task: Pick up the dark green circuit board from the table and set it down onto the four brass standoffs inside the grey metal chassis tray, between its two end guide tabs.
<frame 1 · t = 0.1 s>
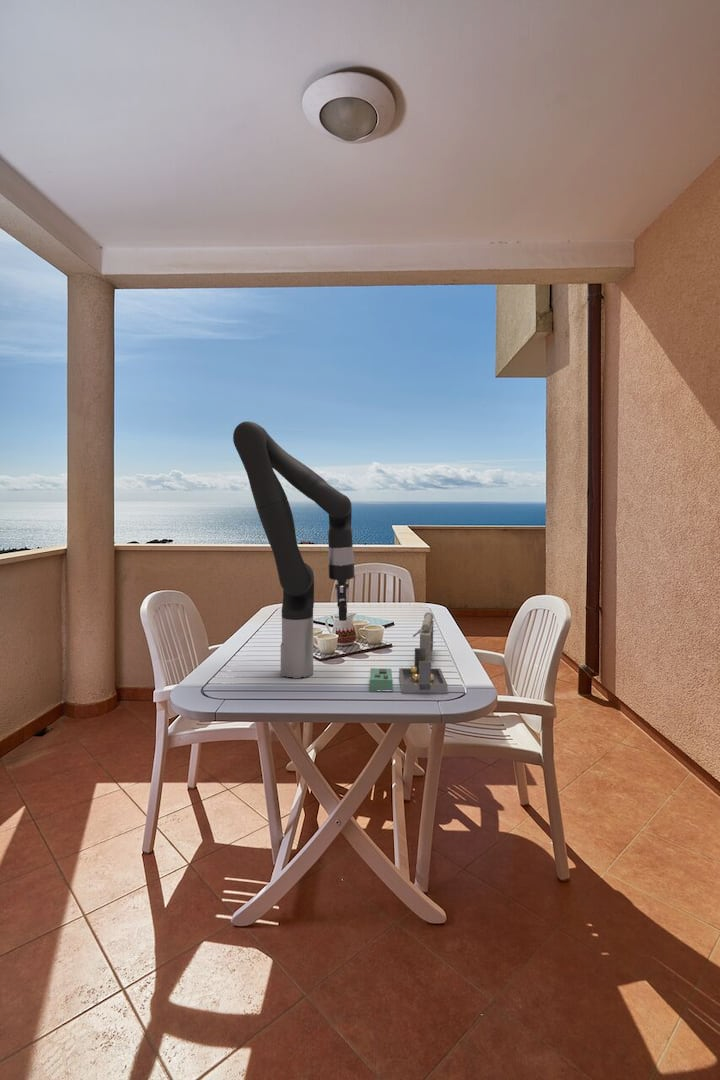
hand: (343, 616, 148), 17 cm above the table, tool pointing down, fingers open, 8 cm apart
grey upright lever device: (425, 657, 166), on the table
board: (381, 686, 140), on the table
chassis: (422, 684, 141), on the table
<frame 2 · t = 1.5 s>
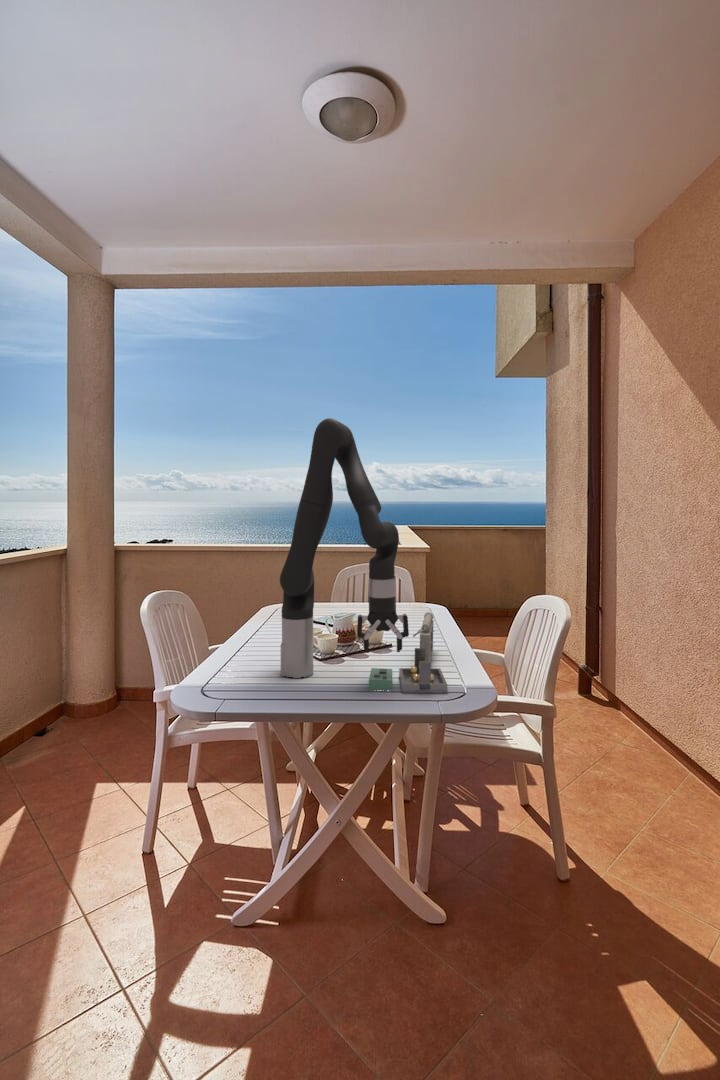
hand: (383, 651, 140), 9 cm above the table, tool pointing down, fingers open, 8 cm apart
nothing on the table moved.
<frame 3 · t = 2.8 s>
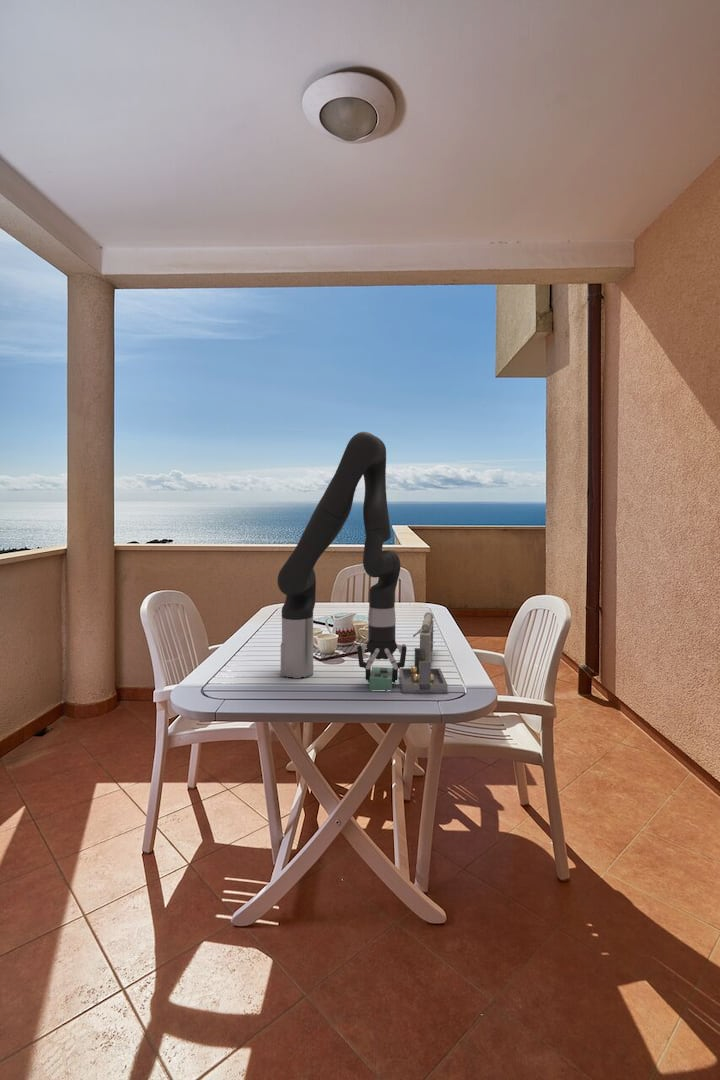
hand: (381, 681, 140), 1 cm above the table, tool pointing down, fingers closed on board, 6 cm apart
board: (381, 685, 140), on the table, touching gripper
everything else where it was.
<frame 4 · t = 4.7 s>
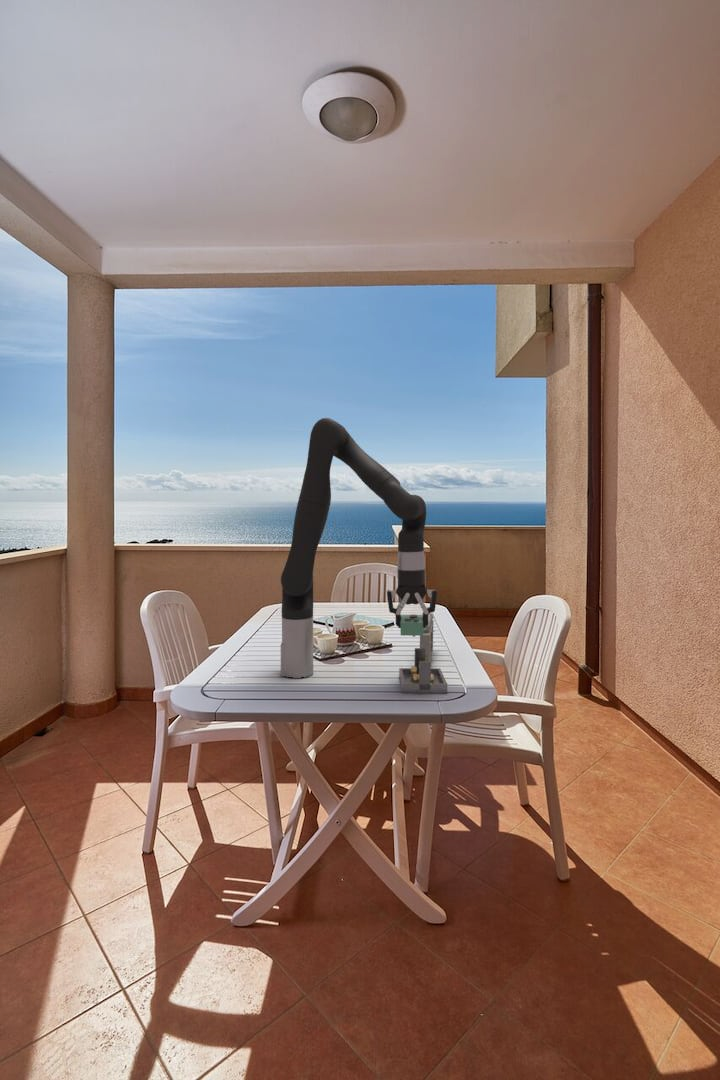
hand: (412, 627, 139), 16 cm above the table, tool pointing down, fingers closed on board, 6 cm apart
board: (411, 630, 139), point 15 cm above the table, touching gripper
everything else where it was.
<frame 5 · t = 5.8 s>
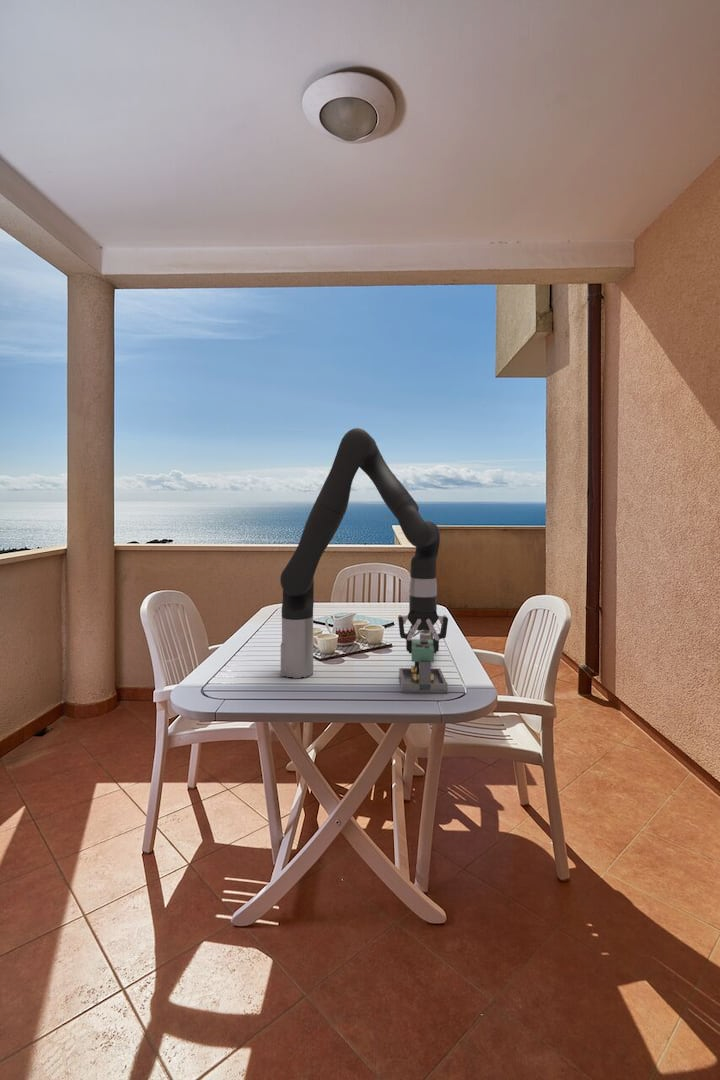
hand: (422, 652, 140), 9 cm above the table, tool pointing down, fingers closed on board, 6 cm apart
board: (422, 656, 140), point 8 cm above the table, touching gripper
everything else where it was.
when the fingers open (6 cm above the table, at t = 6.9 s): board drops 1 cm, resting on chassis.
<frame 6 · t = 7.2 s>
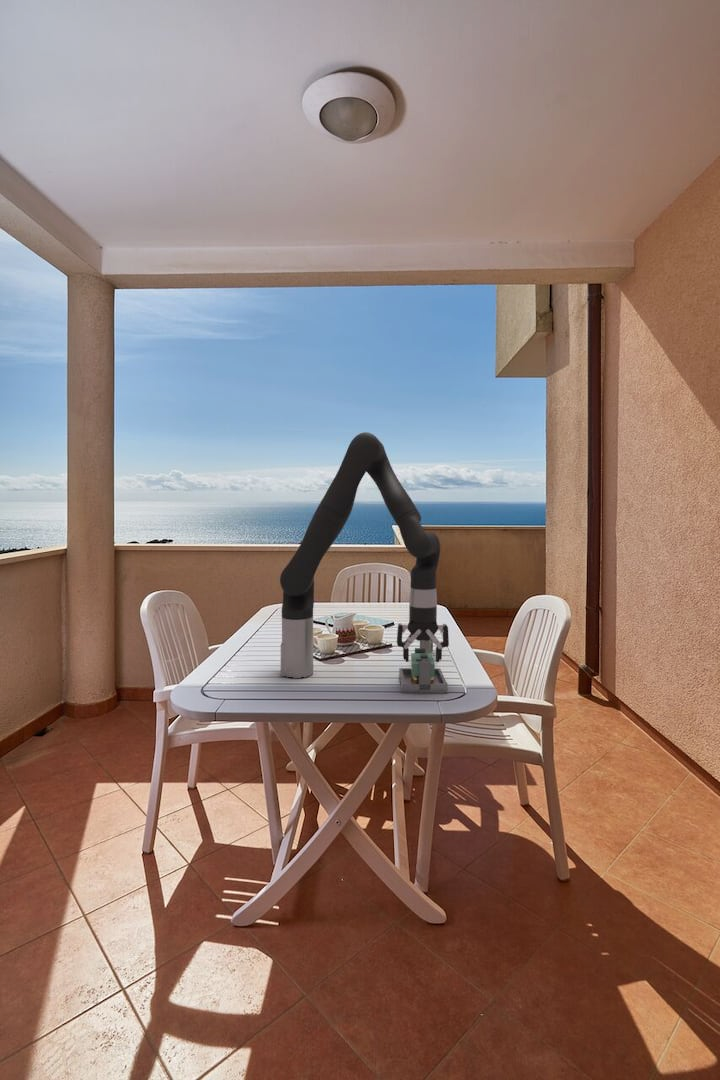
hand: (422, 661, 140), 7 cm above the table, tool pointing down, fingers open, 8 cm apart
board: (422, 670, 140), point 4 cm above the table, touching chassis
everything else where it was.
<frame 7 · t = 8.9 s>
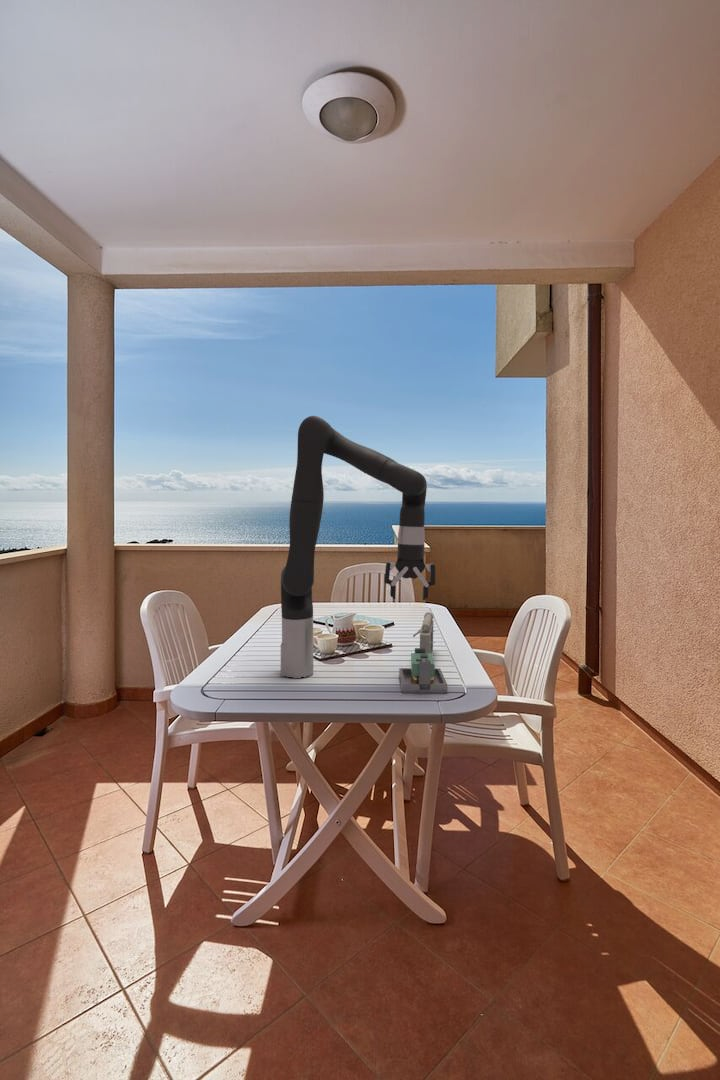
hand: (408, 599, 143), 23 cm above the table, tool pointing down, fingers open, 8 cm apart
nothing on the table moved.
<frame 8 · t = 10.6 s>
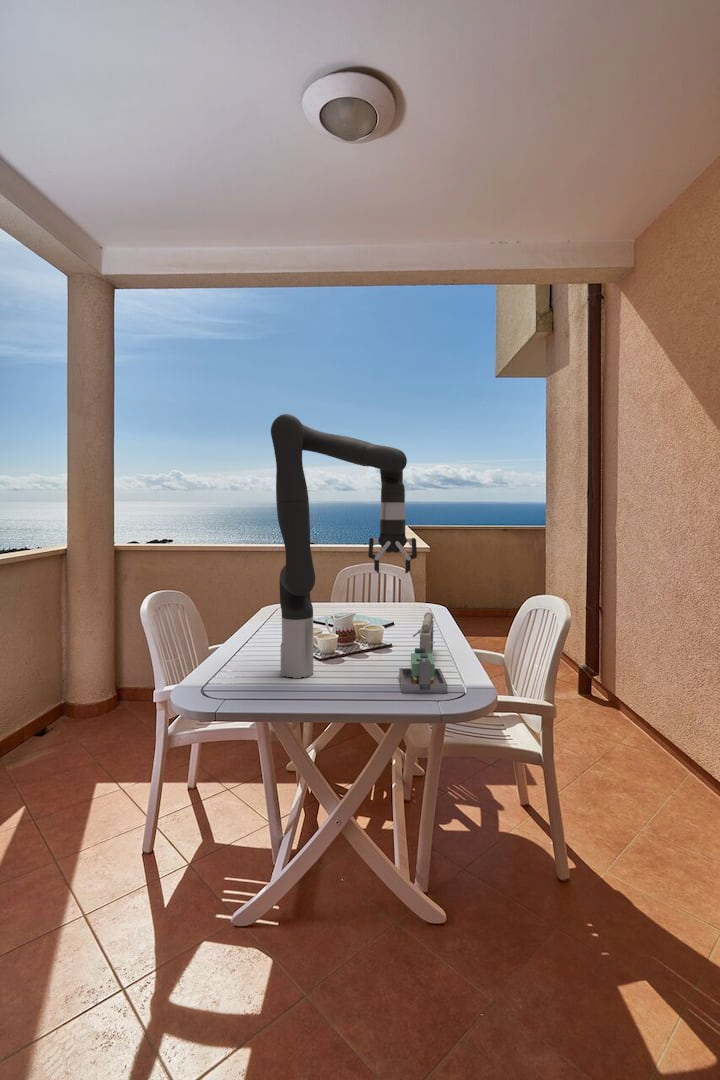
hand: (392, 572, 149), 30 cm above the table, tool pointing down, fingers open, 8 cm apart
nothing on the table moved.
at the end: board 0.0 cm off-centre on the chassis, point 4.0 cm above the chassis's base; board tilted 0°; the gripper is holding nothing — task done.
